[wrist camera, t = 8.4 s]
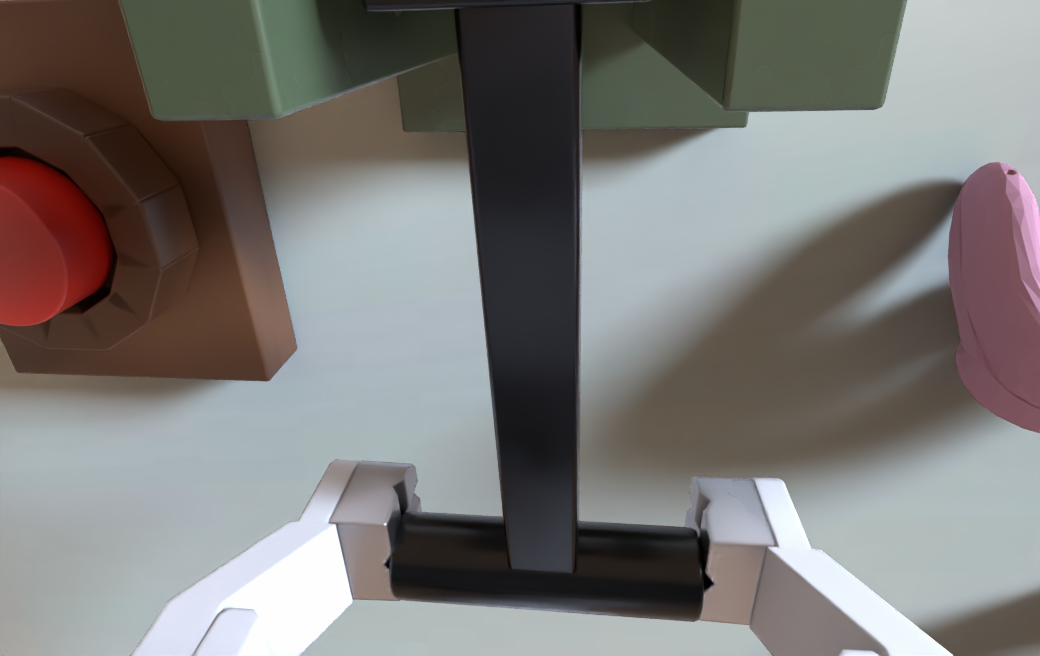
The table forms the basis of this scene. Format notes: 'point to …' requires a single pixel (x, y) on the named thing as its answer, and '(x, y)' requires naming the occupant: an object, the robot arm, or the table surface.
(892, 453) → the table surface
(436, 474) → the table surface
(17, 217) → the button
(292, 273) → the table surface
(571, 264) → the lever
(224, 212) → the button block
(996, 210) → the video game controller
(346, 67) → the bracket
